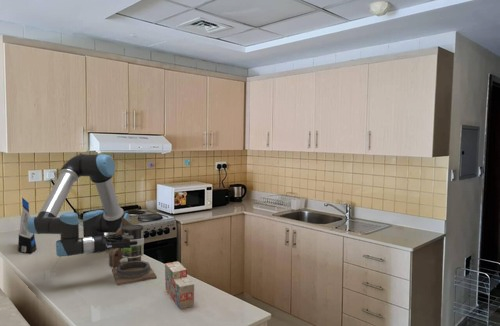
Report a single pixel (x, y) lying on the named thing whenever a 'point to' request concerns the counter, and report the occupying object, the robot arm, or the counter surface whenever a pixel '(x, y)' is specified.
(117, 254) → the wooden toy
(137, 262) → the jig
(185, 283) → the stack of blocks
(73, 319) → the counter surface
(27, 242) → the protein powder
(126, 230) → the coffee can
